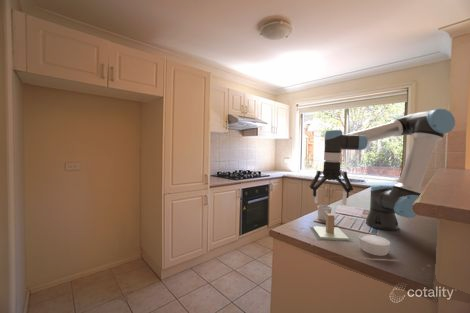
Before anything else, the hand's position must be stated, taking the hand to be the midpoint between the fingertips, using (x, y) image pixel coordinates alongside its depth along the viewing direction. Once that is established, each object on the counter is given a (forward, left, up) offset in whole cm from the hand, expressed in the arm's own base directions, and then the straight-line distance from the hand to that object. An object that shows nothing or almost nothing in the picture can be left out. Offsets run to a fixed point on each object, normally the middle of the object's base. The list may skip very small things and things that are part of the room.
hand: (330, 203), depth 105 cm
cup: (-4, -21, -16) cm, 27 cm away
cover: (0, 0, -16) cm, 16 cm away
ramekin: (-14, +15, -16) cm, 26 cm away
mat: (0, 0, -16) cm, 16 cm away
